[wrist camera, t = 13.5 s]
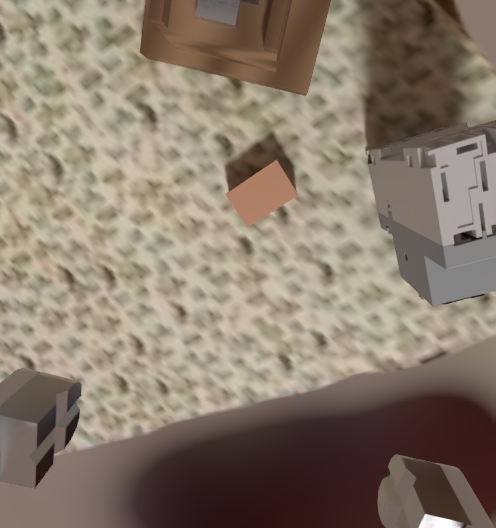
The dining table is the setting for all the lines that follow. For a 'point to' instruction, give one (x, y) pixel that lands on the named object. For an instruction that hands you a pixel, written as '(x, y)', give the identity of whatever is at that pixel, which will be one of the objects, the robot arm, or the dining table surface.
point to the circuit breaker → (441, 209)
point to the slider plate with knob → (220, 11)
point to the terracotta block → (262, 193)
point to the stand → (240, 40)
